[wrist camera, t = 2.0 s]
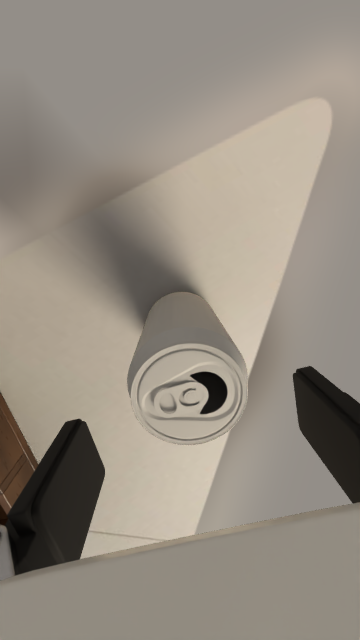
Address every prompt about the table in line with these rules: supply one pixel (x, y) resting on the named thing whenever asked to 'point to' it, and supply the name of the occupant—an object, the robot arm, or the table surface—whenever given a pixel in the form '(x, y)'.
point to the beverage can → (186, 373)
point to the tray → (12, 461)
